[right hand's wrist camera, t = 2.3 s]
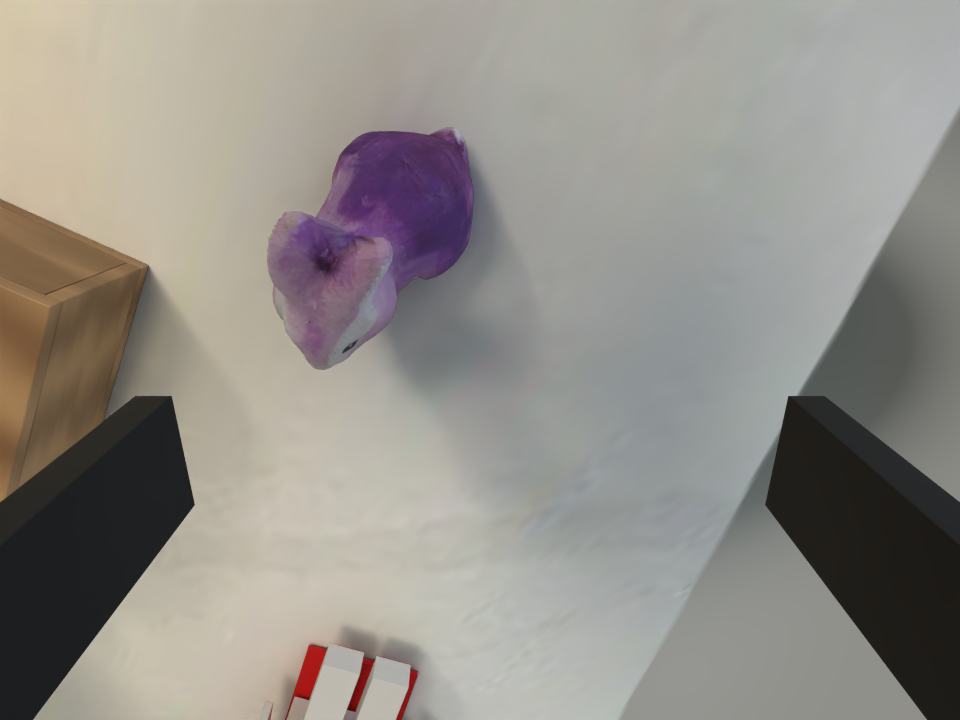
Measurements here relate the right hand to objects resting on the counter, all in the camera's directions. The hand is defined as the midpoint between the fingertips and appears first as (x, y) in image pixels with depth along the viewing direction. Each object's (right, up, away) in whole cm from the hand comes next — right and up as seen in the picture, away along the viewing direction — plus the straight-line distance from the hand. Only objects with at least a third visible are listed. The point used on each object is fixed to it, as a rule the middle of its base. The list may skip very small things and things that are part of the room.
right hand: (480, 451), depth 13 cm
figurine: (-5, +10, +23) cm, 25 cm away
